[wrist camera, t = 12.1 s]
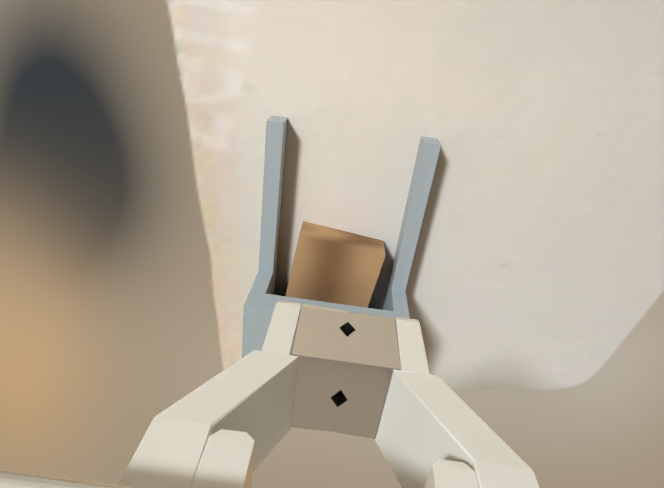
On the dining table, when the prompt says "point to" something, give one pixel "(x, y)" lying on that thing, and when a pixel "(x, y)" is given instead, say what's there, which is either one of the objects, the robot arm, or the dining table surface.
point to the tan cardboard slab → (335, 266)
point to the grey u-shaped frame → (263, 287)
